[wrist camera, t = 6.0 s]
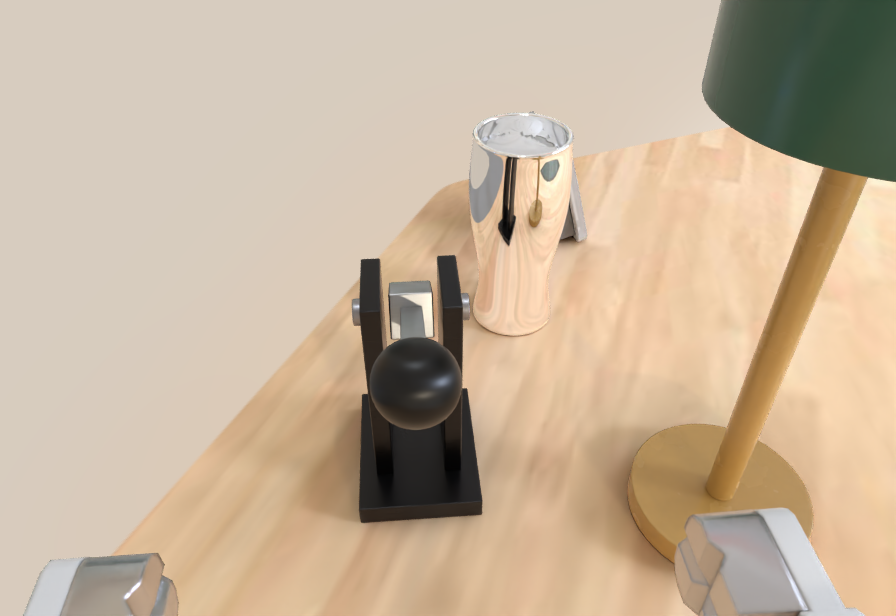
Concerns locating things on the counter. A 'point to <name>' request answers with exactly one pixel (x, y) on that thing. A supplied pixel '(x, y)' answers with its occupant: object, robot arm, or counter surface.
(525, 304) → the beer glass
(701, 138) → the counter surface
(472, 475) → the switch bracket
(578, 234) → the electrical switch
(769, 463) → the desk lamp
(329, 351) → the counter surface
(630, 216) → the counter surface
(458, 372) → the switch lever
